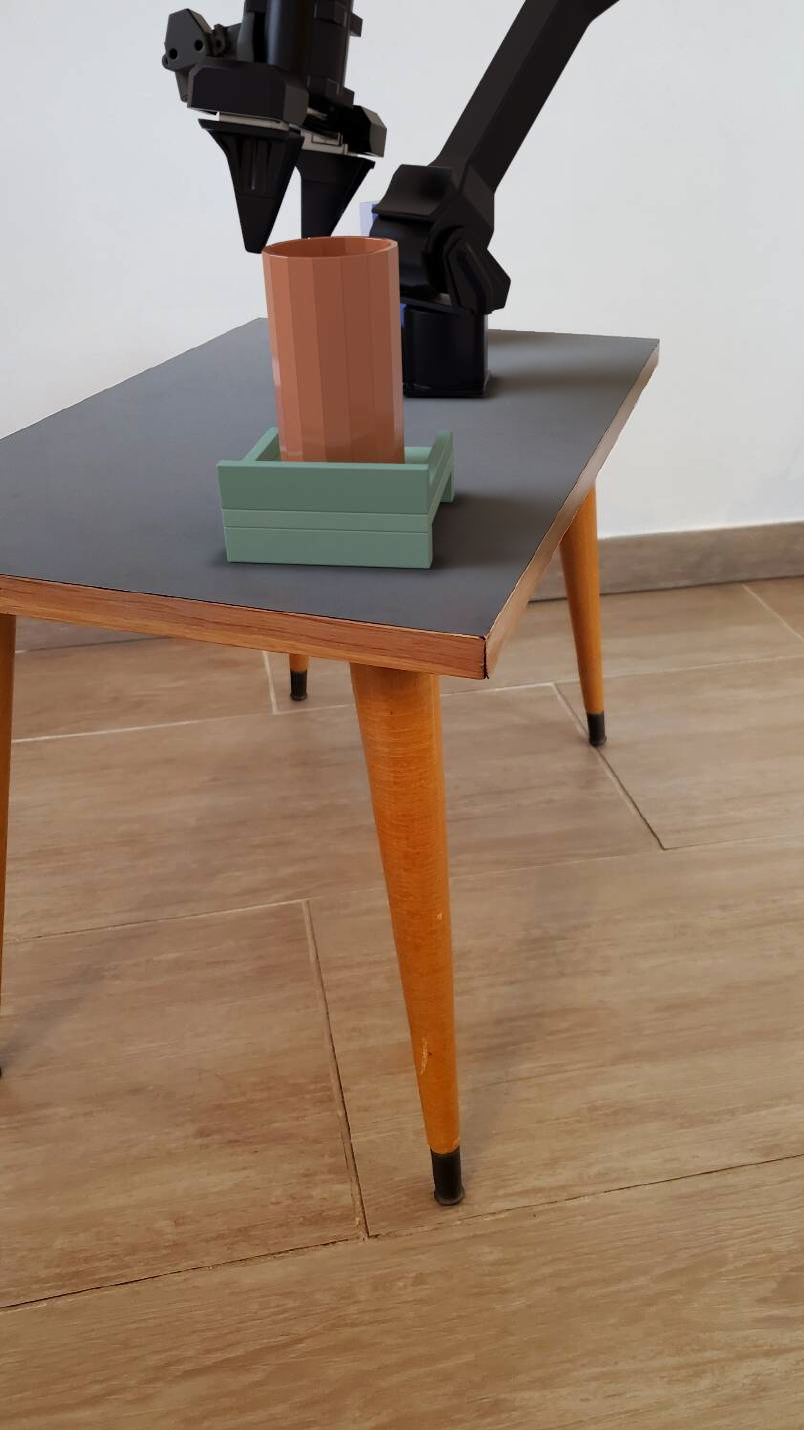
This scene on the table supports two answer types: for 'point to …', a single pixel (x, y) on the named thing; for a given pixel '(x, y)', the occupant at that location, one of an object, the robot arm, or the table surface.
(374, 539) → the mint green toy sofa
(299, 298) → the cup
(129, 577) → the table surface
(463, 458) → the table surface
